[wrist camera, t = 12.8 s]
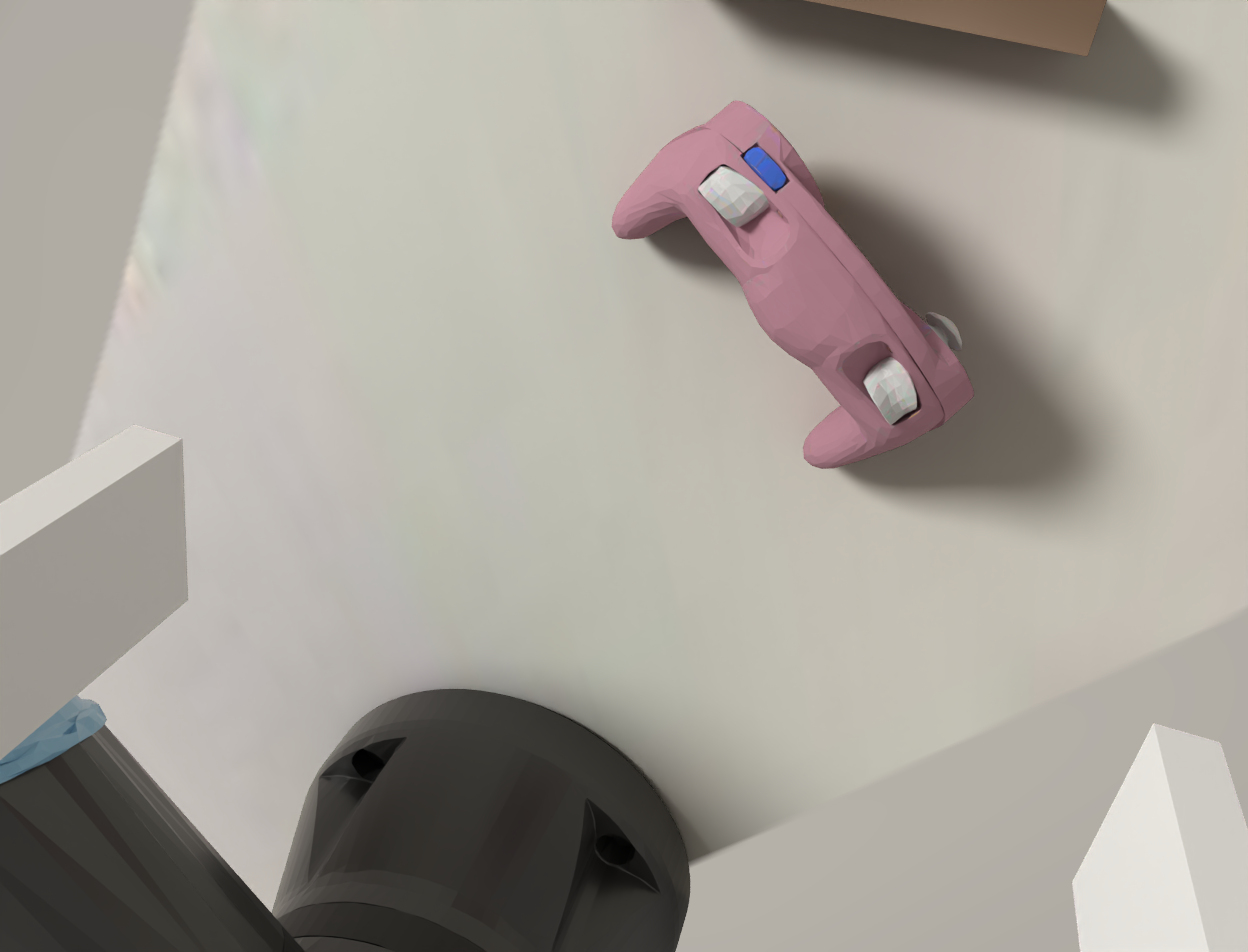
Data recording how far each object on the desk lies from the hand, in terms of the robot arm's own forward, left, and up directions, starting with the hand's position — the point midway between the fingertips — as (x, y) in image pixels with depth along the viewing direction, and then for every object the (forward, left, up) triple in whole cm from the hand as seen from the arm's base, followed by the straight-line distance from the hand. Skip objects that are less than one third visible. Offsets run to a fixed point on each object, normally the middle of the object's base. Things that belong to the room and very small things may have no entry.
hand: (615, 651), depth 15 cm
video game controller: (0, 0, -19) cm, 19 cm away
